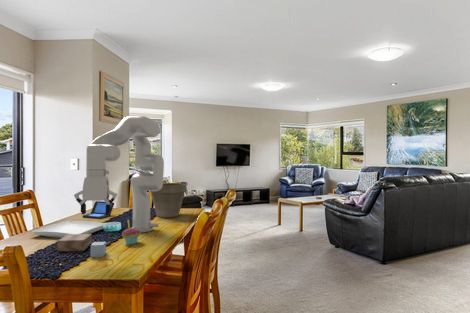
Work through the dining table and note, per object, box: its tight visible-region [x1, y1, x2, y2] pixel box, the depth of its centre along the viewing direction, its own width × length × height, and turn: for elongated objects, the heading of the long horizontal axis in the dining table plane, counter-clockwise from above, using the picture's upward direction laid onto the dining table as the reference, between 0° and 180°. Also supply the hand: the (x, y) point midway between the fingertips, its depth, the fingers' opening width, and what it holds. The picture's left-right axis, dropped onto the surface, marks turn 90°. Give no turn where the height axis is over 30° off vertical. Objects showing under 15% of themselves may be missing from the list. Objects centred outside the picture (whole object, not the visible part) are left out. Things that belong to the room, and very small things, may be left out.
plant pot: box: [149, 182, 187, 219], centre depth 224 cm, size 25×25×22 cm
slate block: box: [90, 241, 107, 258], centre depth 139 cm, size 5×5×5 cm
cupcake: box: [121, 219, 141, 245], centre depth 158 cm, size 9×8×12 cm
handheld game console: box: [82, 200, 115, 220], centre depth 220 cm, size 16×13×9 cm
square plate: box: [31, 220, 107, 239], centre depth 177 cm, size 27×27×4 cm
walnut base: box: [56, 233, 93, 252], centre depth 150 cm, size 11×11×5 cm
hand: (95, 213), depth 140 cm, fingers open, 9 cm apart
